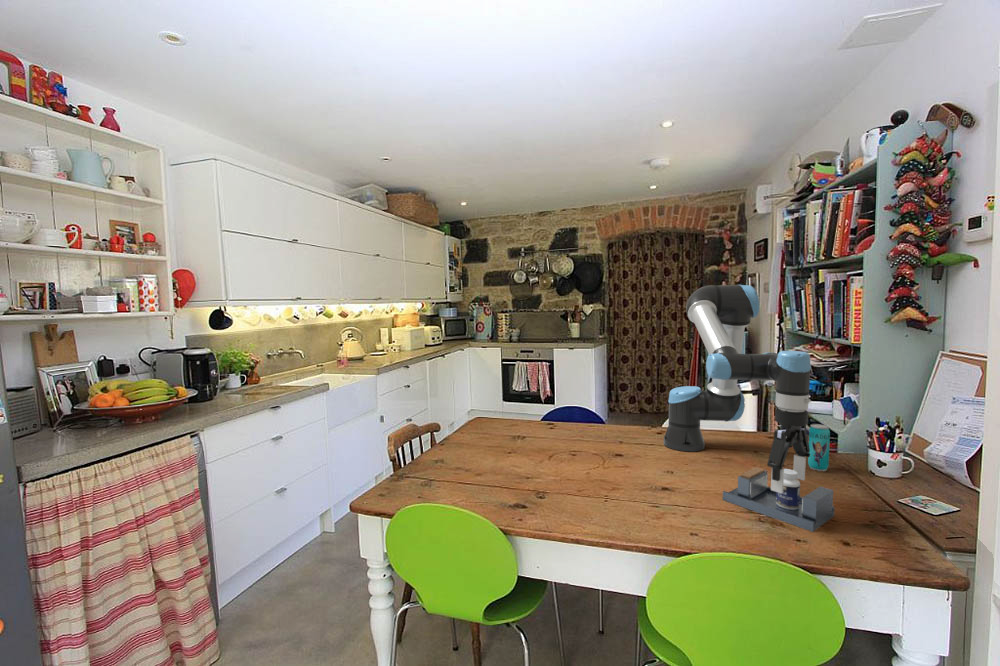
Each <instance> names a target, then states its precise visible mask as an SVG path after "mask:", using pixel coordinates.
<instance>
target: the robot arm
mask: <svg viewBox="0 0 1000 666" xmlns="http://www.w3.org/2000/svg"><path fill="white" fill-rule="evenodd" d="M685 311H686V315H687V318H688V320H689V321H690V322H692V323H693V324H694V325H695V328H696V329H697V332H698V334H699V336H700V338H701V340H702V342H703V344H704V347H705V348H706V351H707V353H708V355H707V358H706V362H705V363H706V364H705V365H706V366H705V367H706V373H707V375H708V377H709V378H710V379H712V380H711V382H709V383H708V384H707V386H706V390H702V389H701V387H699V386H696V385H694V386H693V385H692V386H691V385H685V386H678V387H675V388H672V389H671V390H670V391H669V394H668V400H667V401H668V426H667V428H666V431H665V434H664V437H663V446H665V447H666V448H668V449H671V450H674V451H675V450H676V451H681V452H699V451H700V452H701V451H703V450H704V449H705V440H704V436H703V434H702V430H701V421H705V422H706V421H708V422H709V421H711V422H713V421H714V422H716V421H717V422H736V421H738V420H740V419H741V417H742V416H743V414H744V412H745V407H746V403H745V401H746V400H745V396H744V394H743V392H742V391H741V389H740V387H739V386H738V385H737V384H738V380H739V381H741V380H743V381H745V380H749V381H751V380H752V381H774V382H776V383H775V384H776V385H775V387H776V388H775V402H774V405H775V406H776V408H774V420H775V422H776V423H778V424H779V425H780V429H774V432H773V433H774V435H773V440H772V444H771V448H770V452H769V455H768V456H769V457H768V460H767V466H768V467H770V468H771V474H770V475H771V477H770V487H771V490H772V491H775V492H779V493H783V483H784V469H785V468H783V466H784V465H785V462H786V458H787V456H788V453H789V451H790V448H793V450H794V452H795V454H793V469H792V470H794V471H796V472H797V473H798V476H797V480H799V481H805V480H806V478H805V477H806V463H807V462H806V461H807V458H808V457H810V453H809V452H810V449H809V437H808V433H807V425H808V424H809V411H808V409H809V404H810V403H811V399H810V384H811V370H812V365H811V355H810V354H809V353H808V352H806V351H798V350H781V351H779V352H778V353H777V352H768V351H767V352H764V353H742V349H743V344H744V343H743V342H744V336H745V328H746V327H749V325H751V321H752V319H754V318H757V316H758V315H759V312H760V299H759V295H758V292H757V290H756V289H755V287H754V286H752V285H749V284H747V285H744V284H725V285H723V284H722V285H721V284H720V285H713V284H712V285H704V286H702V287H700V288H697V289H696V290H695V291H693V293H691V295H690V296H689V297H688V299H687V301H686V305H685Z"/></svg>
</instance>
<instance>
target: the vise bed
mask: <svg viewBox="0 0 1000 666" xmlns="http://www.w3.org/2000/svg"><path fill="white" fill-rule="evenodd" d="M776 493H777V492H775V491H772V490H771V486H768V485H767V491H765V492H764V493H762V494H760V495H758V496H756V497H754V498H752V499H751V500H750V499H747V498H744V497H741V496H738V487H736V488H734V489H732V490H730V491H726V490H723V491H722V500H723V501H724V502H727V503H730V504H732V505H736V506H739V507H741V508H744V509H747V510H750V511H752V512H755V513H758V514H760V515H764V516H766V517H770V518H773V519H775V520H777V521H780V522H785V523H786V524H790V525H793V526H795V527H798V528H801V529H803V530H807V531H810V532H811V533H813V532H815V531H817V529H819V528H820V527H822V526H823V525H824V524H826V523H827V522H828V521H830V520H831V519H832V518H834V516H835V506H834V490H833V489H832V488H826V487H824V486H819V487H817V488H815V489H814V490H812V491H810V492H809V493H807V494H806V495H804V496H800V501H799V508H798V509H797V510H789V509H784V508H782V507H780V506H778V505H777V503H776Z"/></svg>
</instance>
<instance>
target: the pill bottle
mask: <svg viewBox="0 0 1000 666" xmlns="http://www.w3.org/2000/svg"><path fill="white" fill-rule="evenodd" d="M783 469H784V483H783V493H779V492H777V493H776V503H777V505H778V506H780V507H782V508H784V509H789V510H797V509H798V508H799V501H800V497H801V482H800V480H799V479H797V476H798V473H797V472H796V471H794V470H793V469H789V468H783Z"/></svg>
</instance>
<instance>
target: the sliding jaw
mask: <svg viewBox="0 0 1000 666" xmlns="http://www.w3.org/2000/svg"><path fill="white" fill-rule="evenodd" d="M768 478H769V475H768V471H767V470H765V469H764V468H761V467H757V466H756V467H753V468H751V469H749V470H747V471H744V472H742V473H740V475H738V476H737V488H738V496H741V497H744V498H747V499H750V500H751V499H752V498H754V497H756V496H758V495H760V494H762V493H764V492H765V491H767V486H768V482H769V480H768Z"/></svg>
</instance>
